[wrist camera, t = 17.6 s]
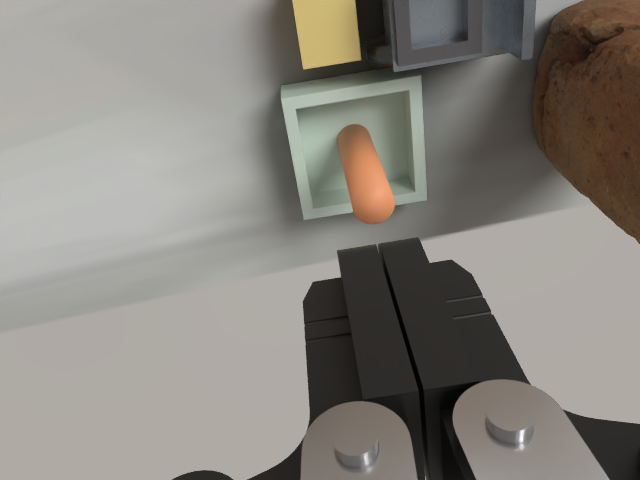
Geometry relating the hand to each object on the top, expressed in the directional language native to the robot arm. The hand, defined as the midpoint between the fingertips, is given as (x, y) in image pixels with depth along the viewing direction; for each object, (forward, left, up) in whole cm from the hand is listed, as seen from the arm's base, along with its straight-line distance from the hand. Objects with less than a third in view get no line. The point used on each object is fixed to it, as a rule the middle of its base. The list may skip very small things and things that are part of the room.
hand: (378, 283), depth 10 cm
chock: (-1, 0, -29) cm, 29 cm away
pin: (-2, +8, -28) cm, 30 cm away
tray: (-2, +8, -29) cm, 30 cm away
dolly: (-8, 0, -29) cm, 30 cm away
